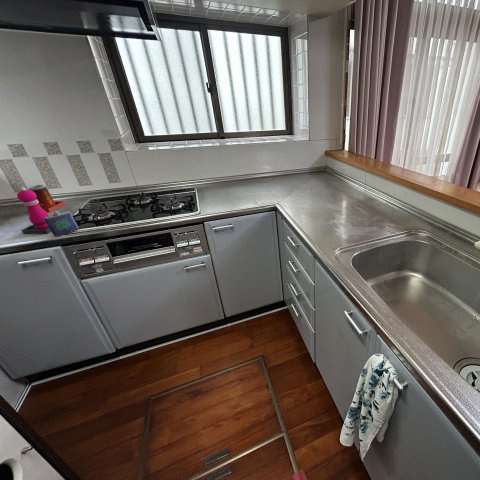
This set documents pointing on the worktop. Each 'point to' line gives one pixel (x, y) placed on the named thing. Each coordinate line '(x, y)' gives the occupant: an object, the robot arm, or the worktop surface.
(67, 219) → the flask
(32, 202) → the pepper mill
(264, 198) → the worktop surface
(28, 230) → the charcoal tray
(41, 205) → the soda can
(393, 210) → the worktop surface
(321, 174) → the worktop surface
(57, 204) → the red tray
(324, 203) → the worktop surface
